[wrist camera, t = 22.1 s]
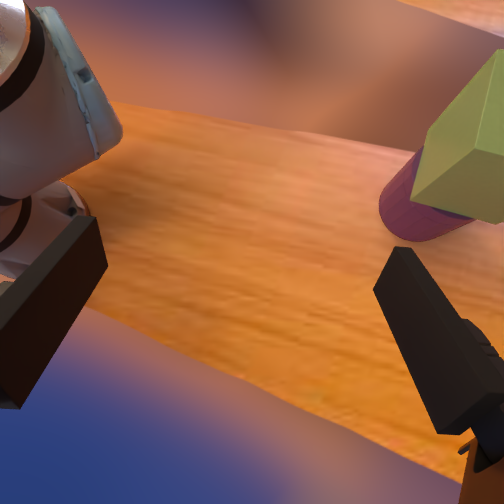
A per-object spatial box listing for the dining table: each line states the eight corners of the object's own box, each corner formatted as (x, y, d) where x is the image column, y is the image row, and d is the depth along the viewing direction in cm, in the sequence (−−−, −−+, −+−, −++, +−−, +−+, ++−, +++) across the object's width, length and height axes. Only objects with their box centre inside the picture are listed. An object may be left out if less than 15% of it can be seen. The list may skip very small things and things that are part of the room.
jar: (366, 221, 40) (397, 193, 30) (396, 164, 41) (434, 119, 32) (434, 254, 39) (489, 235, 29) (462, 193, 40) (524, 156, 30)
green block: (409, 200, 30) (474, 148, 20) (428, 129, 31) (498, 48, 22) (495, 224, 29) (608, 182, 19) (511, 149, 30) (624, 74, 21)
